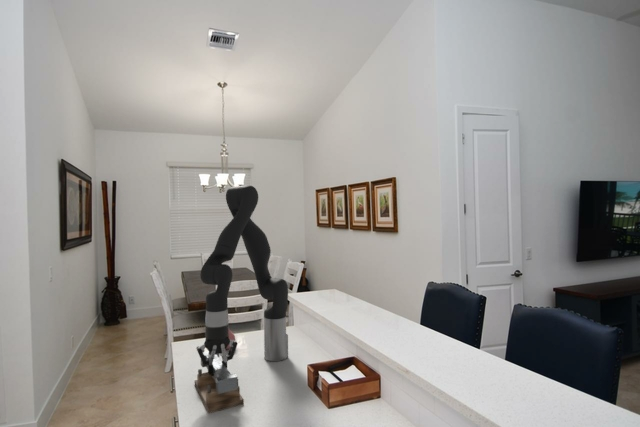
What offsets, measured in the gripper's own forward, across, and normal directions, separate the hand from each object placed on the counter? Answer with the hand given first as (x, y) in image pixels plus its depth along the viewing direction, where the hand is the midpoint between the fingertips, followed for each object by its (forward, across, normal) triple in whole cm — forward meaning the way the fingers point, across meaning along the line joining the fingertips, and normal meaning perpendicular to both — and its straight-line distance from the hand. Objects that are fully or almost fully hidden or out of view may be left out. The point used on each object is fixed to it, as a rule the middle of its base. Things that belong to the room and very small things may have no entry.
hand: (217, 373), depth 128 cm
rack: (+7, 0, 0) cm, 7 cm away
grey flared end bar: (+1, 0, 0) cm, 1 cm away
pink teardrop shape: (+7, -14, -41) cm, 44 cm away
